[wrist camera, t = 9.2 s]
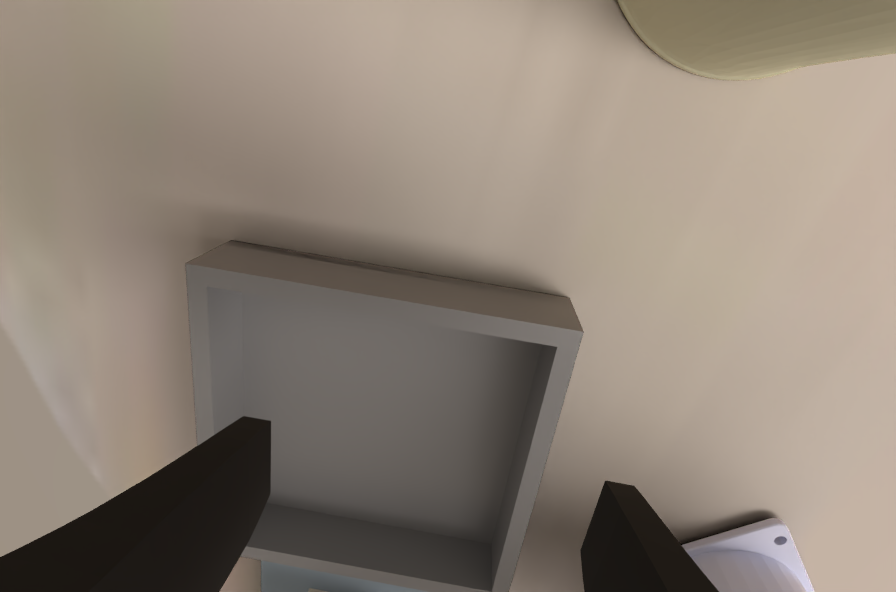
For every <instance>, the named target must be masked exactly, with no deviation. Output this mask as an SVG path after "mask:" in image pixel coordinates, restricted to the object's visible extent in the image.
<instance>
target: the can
mask: <svg viewBox="0 0 896 592" xmlns="http://www.w3.org/2000/svg"><path fill="white" fill-rule="evenodd" d="M618 3H619V5H620V8H621V10H622V11H623V13H624V15H625V17H626V19H627V20H628V22H629V23H630V25H631V26H632V28H633V29H634V31H635V32H636V33H637V35H638V36H639V37H640V38H641V39H642V40H643V41H644V42H645V44H646V45H647V46H648V47H649V48H650V49H651V50H653V51H654V52H655V53H656V54H658V55H659V56H660V57H661V58H663V59H664V60H666V61H668V62H669V63H671V64H672V65H674V66H676V67H678V68H680V69H682V70H685V71H687V72H690V73H693V74H695V75H699V76H703V77H707V78H712V79H718V80H731V81H741V80H753V79H761V78H767V77H771V76H775V75H779V74H783V73H786V72H789V71H792V70H795V69H798V68H800V67H805V66H811V65H818V64H824V63H831V62H838V61H845V60H852V59H858V58H865V57H873V56H880V55H887V54H895V53H896V0H618Z"/></svg>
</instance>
